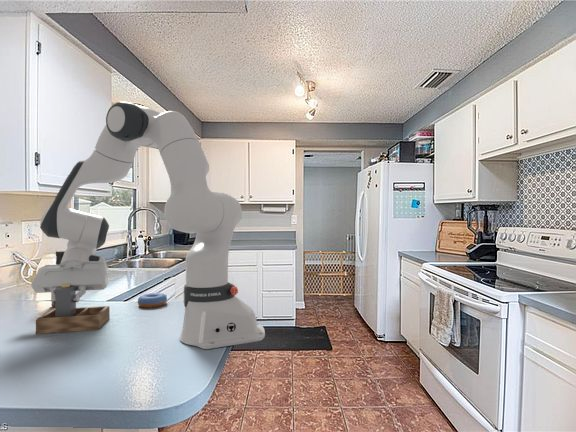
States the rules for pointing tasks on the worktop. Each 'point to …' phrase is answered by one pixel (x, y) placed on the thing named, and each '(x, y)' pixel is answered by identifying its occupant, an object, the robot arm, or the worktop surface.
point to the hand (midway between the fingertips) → (64, 302)
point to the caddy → (74, 320)
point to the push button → (65, 301)
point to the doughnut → (152, 300)
